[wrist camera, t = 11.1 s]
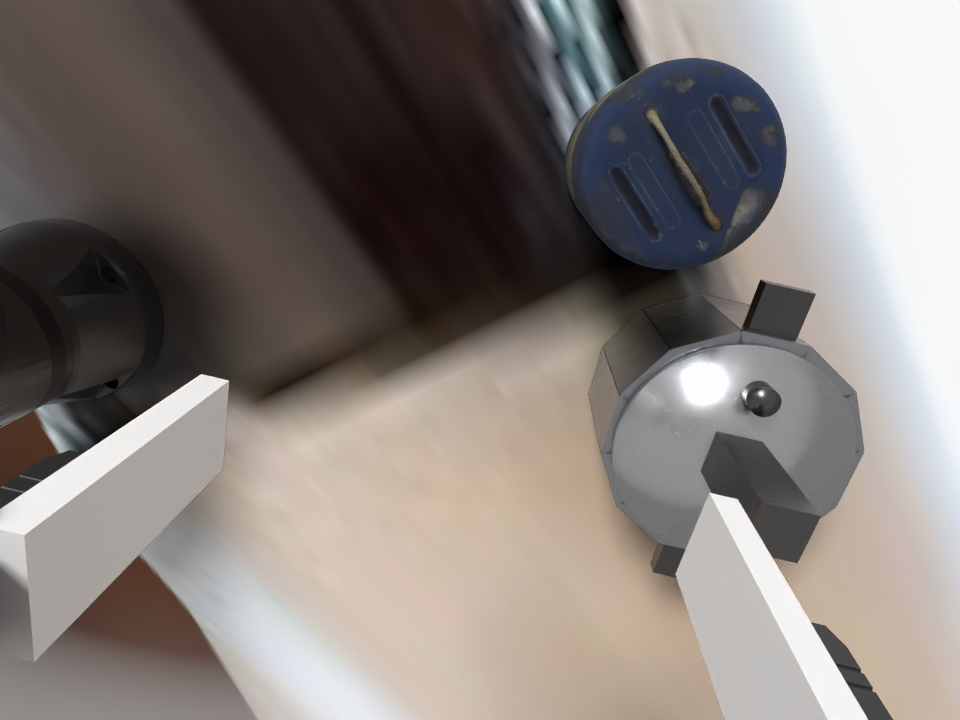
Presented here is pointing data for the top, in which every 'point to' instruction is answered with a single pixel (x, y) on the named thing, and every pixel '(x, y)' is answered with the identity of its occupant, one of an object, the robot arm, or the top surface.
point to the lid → (735, 444)
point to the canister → (677, 163)
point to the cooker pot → (686, 330)
